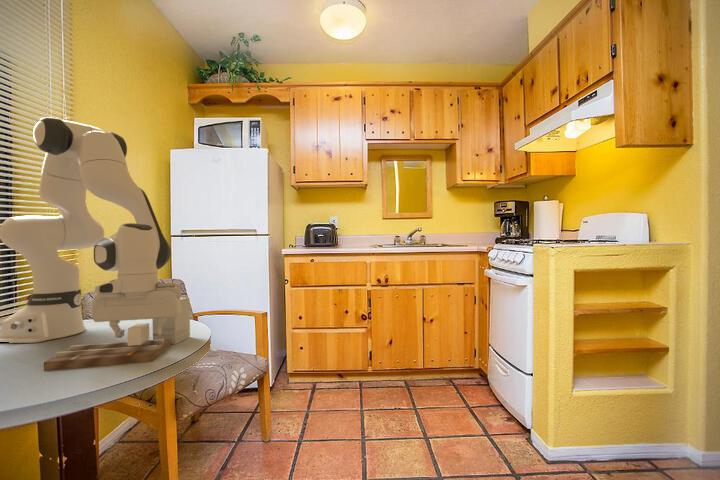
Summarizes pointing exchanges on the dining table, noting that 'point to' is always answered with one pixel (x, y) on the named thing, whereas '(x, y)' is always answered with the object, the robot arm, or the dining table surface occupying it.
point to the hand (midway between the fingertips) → (138, 335)
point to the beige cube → (138, 335)
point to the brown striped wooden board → (106, 354)
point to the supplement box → (175, 325)
